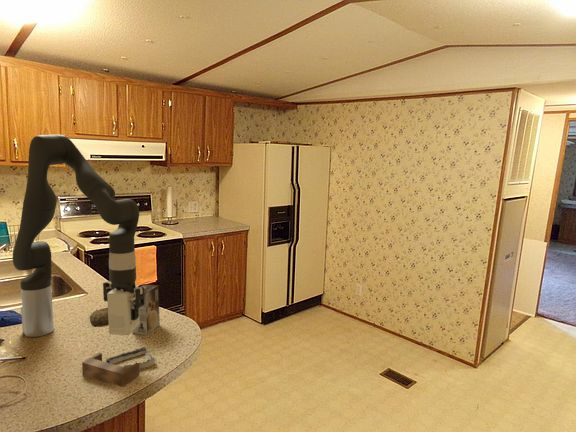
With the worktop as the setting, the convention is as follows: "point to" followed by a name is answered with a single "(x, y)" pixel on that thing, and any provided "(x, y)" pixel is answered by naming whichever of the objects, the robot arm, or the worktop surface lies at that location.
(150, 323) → the coffee box
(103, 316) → the bread roll
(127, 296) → the small box
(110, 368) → the walnut arch
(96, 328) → the worktop surface
